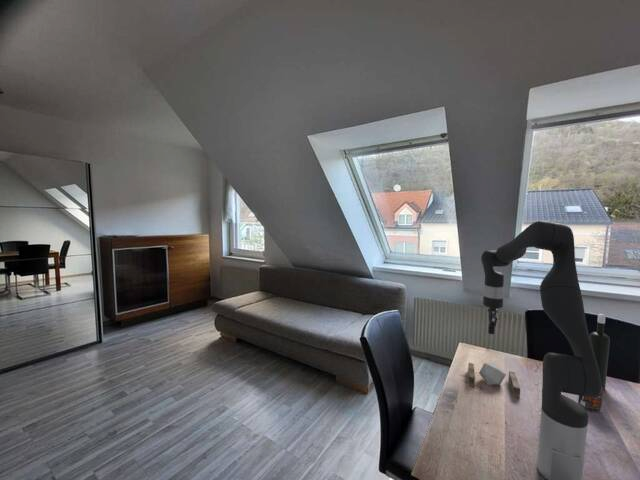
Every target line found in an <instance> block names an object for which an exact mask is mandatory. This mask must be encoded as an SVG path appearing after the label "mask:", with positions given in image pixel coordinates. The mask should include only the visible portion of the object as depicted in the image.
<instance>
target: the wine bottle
mask: <svg viewBox="0 0 640 480" xmlns="http://www.w3.org/2000/svg"><path fill="white" fill-rule="evenodd" d="M606 317H607V315H606V314H604V313H597V325H596V331H593V332H590V333H589V337H590V341H591V344H592V347H593V351H594V354H595V358H596V361H597V364H598V368H599V372H600V376H601V383H602V387H603V390H604V391H605V390H606V383H607V373H608V372H607V371H608V363H609V354H610V343H611V338H610V336H608V334H606V333H605V324H606Z"/></svg>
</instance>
